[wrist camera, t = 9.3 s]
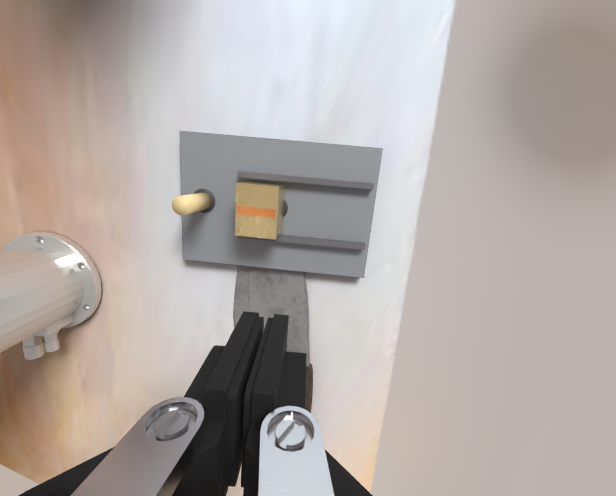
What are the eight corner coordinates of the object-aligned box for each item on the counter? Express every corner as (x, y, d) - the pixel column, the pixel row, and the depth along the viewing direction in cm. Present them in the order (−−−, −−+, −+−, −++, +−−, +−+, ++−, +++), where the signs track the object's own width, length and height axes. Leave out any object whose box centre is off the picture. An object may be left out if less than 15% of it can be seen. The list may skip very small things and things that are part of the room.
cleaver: (318, 450, 41) (317, 465, 39) (251, 450, 42) (248, 464, 40) (305, 255, 34) (304, 259, 32) (226, 258, 35) (220, 263, 33)
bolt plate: (362, 273, 34) (370, 296, 28) (188, 255, 34) (158, 273, 28) (379, 149, 30) (394, 143, 24) (186, 132, 31) (151, 122, 25)
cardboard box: (281, 231, 31) (275, 239, 27) (246, 228, 31) (234, 235, 27) (284, 185, 30) (278, 186, 26) (247, 181, 30) (235, 182, 26)
